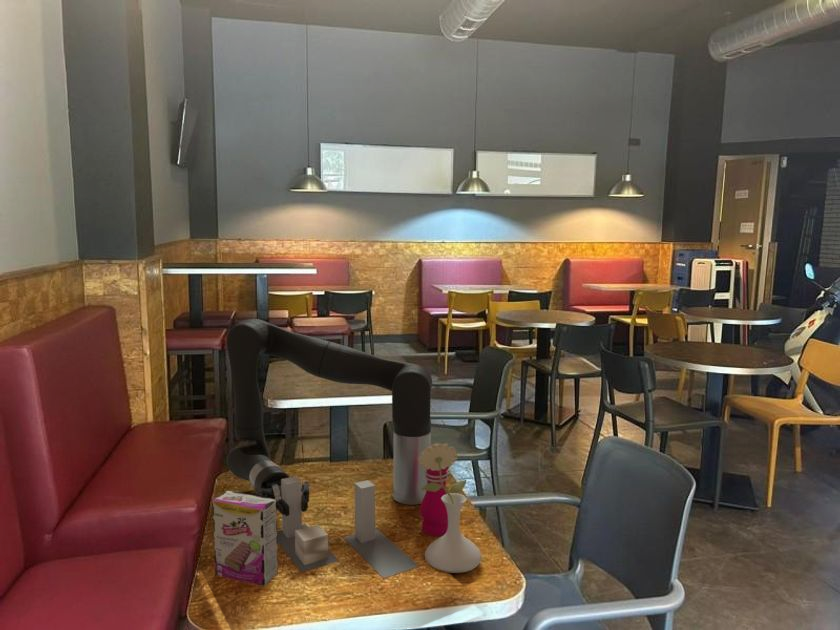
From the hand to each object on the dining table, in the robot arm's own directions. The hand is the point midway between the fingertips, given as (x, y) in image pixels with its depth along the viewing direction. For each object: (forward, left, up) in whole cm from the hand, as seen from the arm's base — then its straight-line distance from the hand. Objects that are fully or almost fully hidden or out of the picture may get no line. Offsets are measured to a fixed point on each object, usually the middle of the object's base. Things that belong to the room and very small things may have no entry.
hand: (296, 509), depth 130 cm
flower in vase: (-23, +23, -8) cm, 34 cm away
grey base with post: (-12, +14, -8) cm, 20 cm away
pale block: (0, +8, -7) cm, 10 cm away
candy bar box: (+13, +8, -8) cm, 17 cm away
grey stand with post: (0, +4, -8) cm, 9 cm away
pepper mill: (-29, +10, -8) cm, 32 cm away
